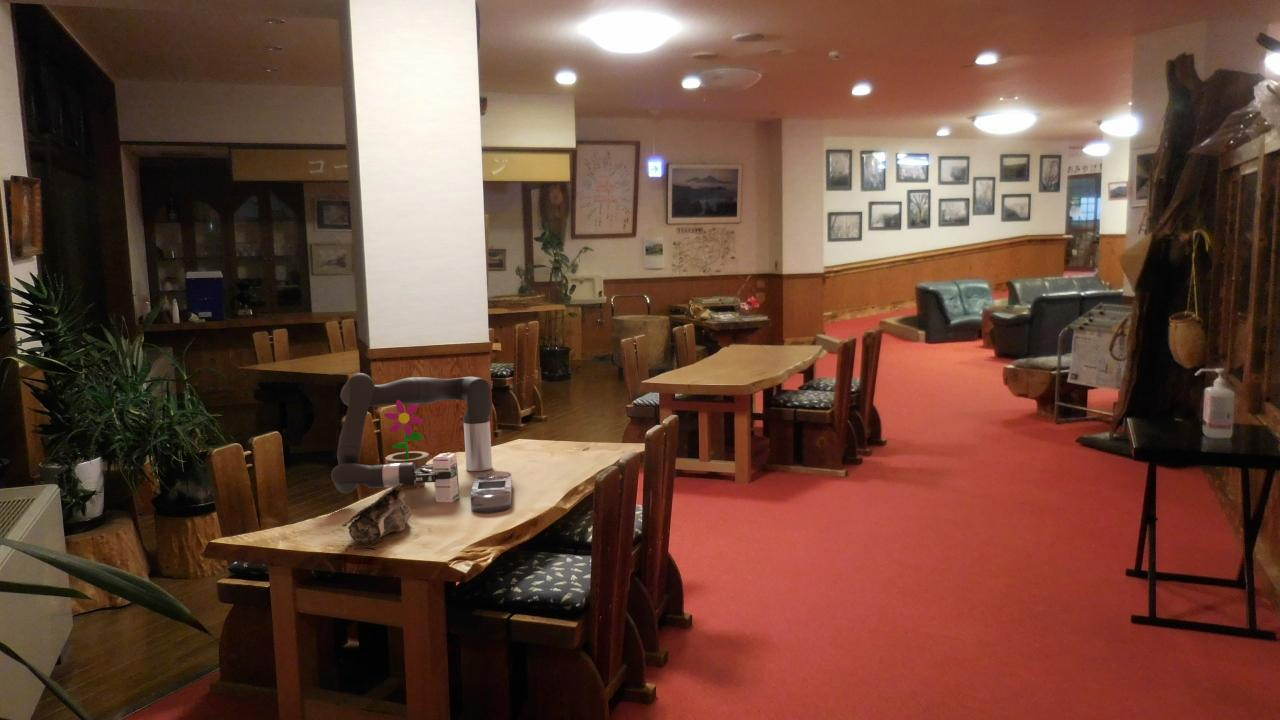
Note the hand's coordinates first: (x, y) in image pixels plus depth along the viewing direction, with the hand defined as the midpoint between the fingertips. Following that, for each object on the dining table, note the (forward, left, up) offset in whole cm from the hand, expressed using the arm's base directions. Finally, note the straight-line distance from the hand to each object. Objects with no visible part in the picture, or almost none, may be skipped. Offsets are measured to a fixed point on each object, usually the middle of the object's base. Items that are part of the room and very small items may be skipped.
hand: (452, 471), depth 284 cm
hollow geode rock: (+32, -18, -9) cm, 38 cm away
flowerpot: (-22, -16, -9) cm, 29 cm away
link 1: (-6, +12, -9) cm, 16 cm away
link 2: (+6, +12, -9) cm, 16 cm away
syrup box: (0, -2, -9) cm, 9 cm away
